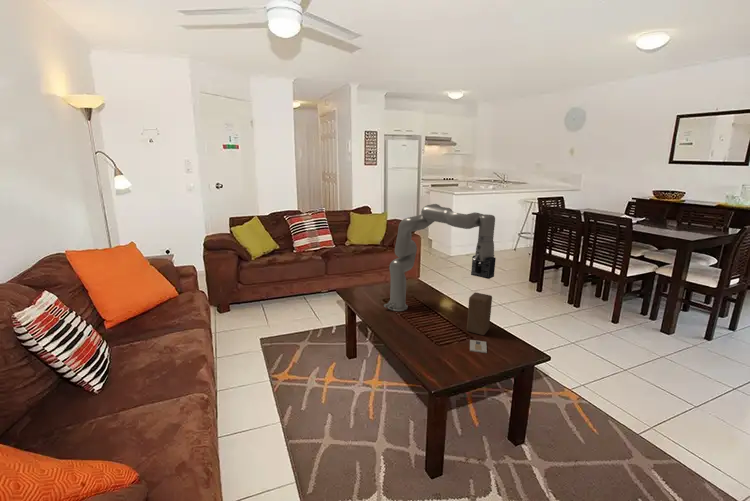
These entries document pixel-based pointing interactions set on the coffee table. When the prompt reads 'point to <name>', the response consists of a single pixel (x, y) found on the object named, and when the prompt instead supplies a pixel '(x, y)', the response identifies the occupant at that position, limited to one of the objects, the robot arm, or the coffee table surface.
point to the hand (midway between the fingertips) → (482, 271)
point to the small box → (485, 268)
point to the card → (478, 346)
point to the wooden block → (479, 313)
